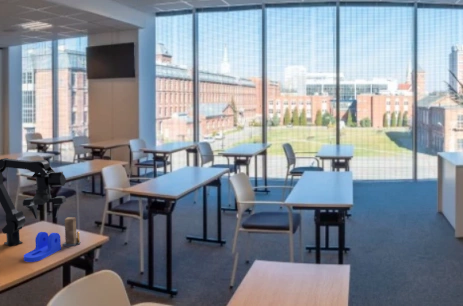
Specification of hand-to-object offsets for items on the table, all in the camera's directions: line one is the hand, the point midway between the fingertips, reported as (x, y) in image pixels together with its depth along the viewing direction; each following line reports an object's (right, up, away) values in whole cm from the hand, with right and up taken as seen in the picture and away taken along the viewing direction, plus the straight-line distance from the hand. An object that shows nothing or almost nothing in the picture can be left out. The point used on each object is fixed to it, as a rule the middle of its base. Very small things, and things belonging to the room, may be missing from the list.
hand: (46, 218), depth 219 cm
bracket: (+3, -15, -13) cm, 20 cm away
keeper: (+11, -13, +3) cm, 17 cm away
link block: (+11, -12, +3) cm, 17 cm away
